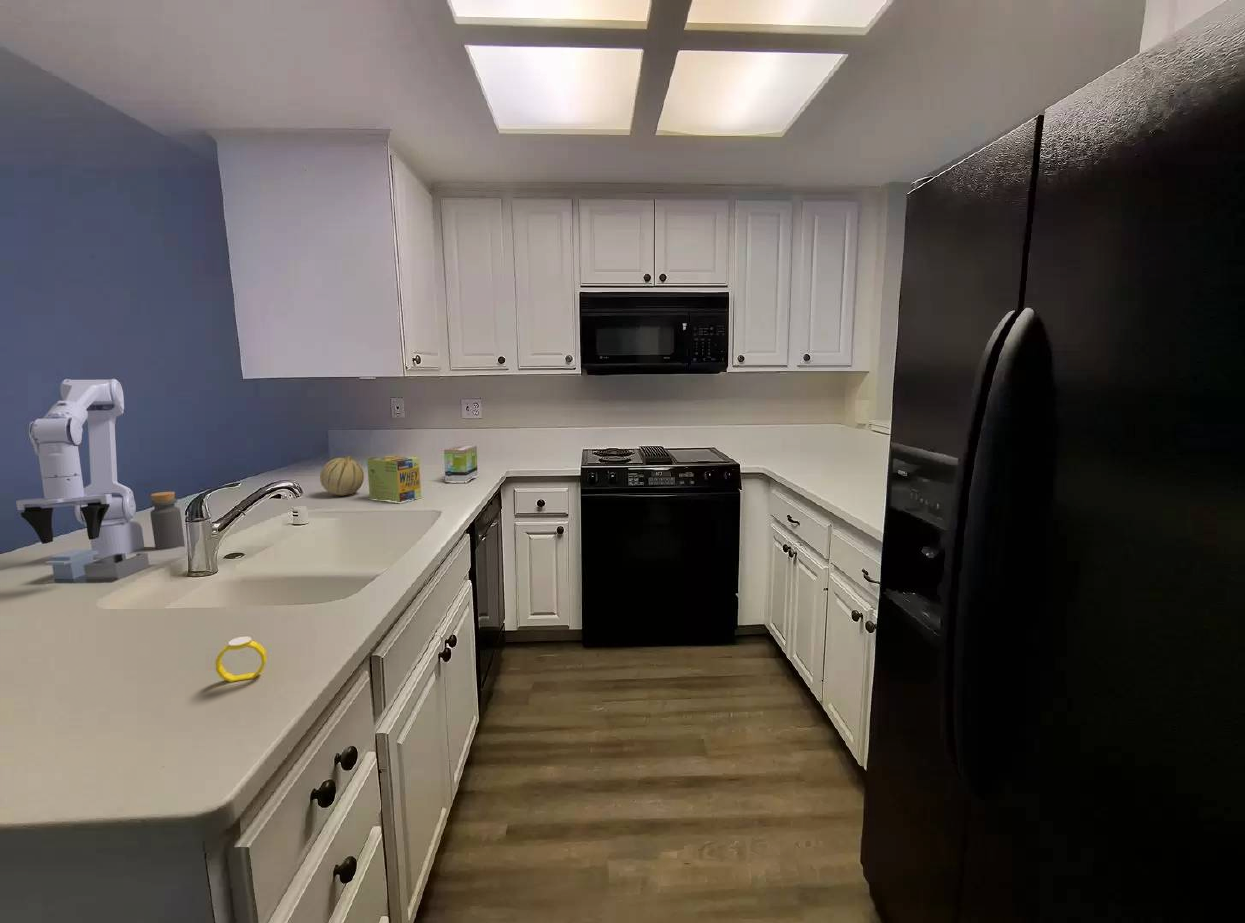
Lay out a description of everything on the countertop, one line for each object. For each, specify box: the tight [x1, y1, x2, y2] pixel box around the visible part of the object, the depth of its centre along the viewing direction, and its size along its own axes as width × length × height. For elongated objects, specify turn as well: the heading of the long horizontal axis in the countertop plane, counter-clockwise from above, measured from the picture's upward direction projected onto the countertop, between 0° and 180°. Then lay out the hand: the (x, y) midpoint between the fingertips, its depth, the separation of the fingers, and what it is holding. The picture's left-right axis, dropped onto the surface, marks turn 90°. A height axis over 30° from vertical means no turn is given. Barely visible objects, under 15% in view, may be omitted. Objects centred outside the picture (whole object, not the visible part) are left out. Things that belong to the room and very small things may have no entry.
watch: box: [215, 636, 268, 683], centre depth 77 cm, size 6×3×6 cm, turn 110°
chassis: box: [39, 552, 155, 585], centre depth 118 cm, size 11×15×4 cm
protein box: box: [366, 455, 422, 502], centre depth 195 cm, size 10×15×16 cm
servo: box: [44, 548, 99, 579], centre depth 117 cm, size 8×4×5 cm, turn 1°
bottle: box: [150, 491, 186, 551], centre depth 137 cm, size 6×6×15 cm
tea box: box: [443, 445, 479, 482], centre depth 231 cm, size 15×10×15 cm
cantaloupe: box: [319, 455, 365, 496], centre depth 202 cm, size 15×15×15 cm
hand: (71, 540), depth 111 cm, fingers open, 7 cm apart
